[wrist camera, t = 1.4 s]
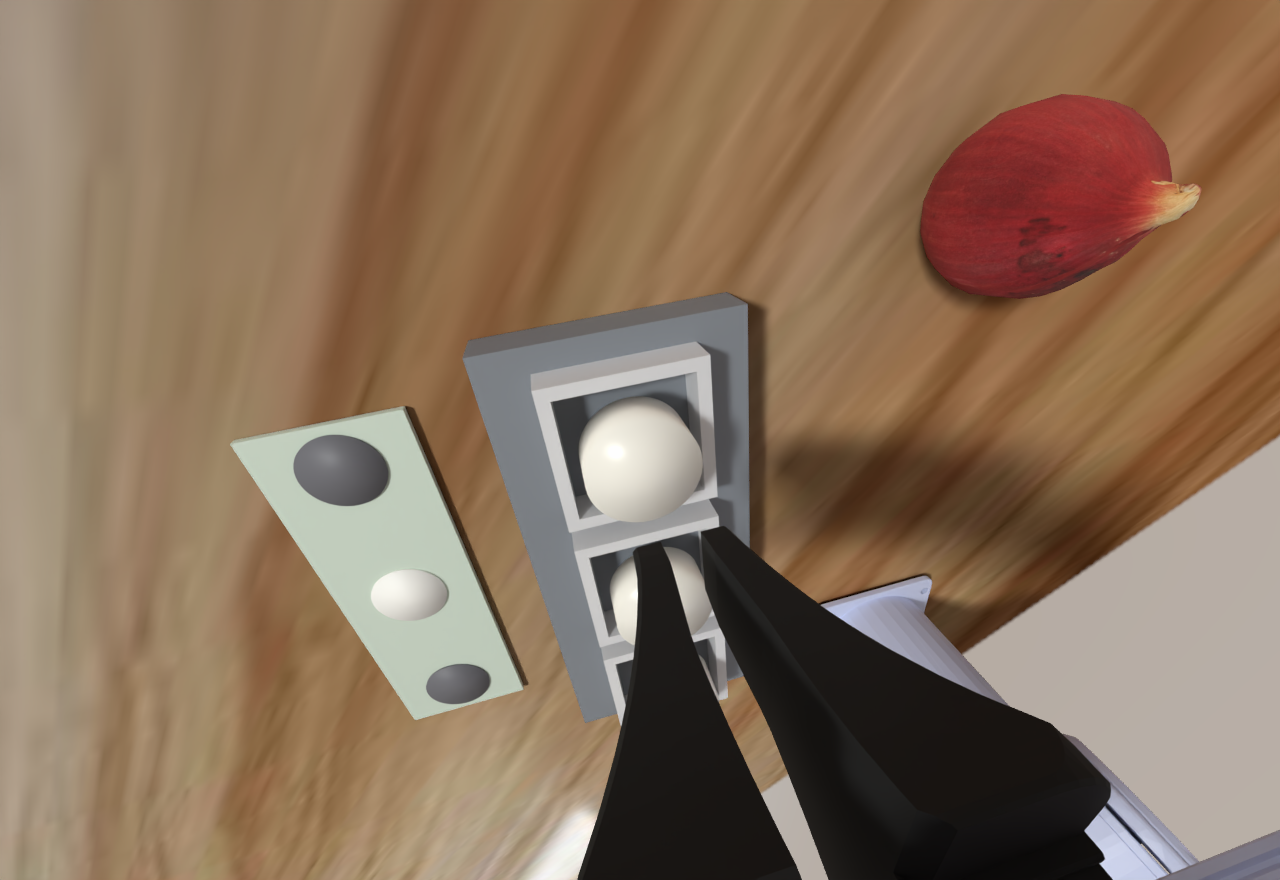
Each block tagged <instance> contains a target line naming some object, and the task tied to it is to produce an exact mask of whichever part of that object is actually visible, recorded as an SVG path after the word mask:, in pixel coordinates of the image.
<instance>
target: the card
mask: <svg viewBox="0 0 1280 880" xmlns="http://www.w3.org/2000/svg"><path fill="white" fill-rule="evenodd" d="M230 445H231V446H232V448H233V449H234V451H235V452H236V454H237V455H238V457H239V458H240V460H241V461H242V463H243V464H244V466H245V467H246V469H247V470H248V472H249V473H250V475H251V476H252V478H253V479H254V481H255V482H256V484H257V485H258V487H259V488H260V490H261V491H262V493H263V494H264V496H265V497H266V499H267V500H268V502H269V503H270V504H271V506H272V507H273V509H274V510H275V512H276V513H277V515H278V516H279V518H280V519H281V521H282V522H283V524H284V525H285V527H286V528H287V530H288V531H289V533H290V534H291V536H292V537H293V539H294V540H295V542H296V543H297V545H298V546H299V548H300V549H301V551H302V552H303V554H304V555H305V557H306V558H307V560H308V561H309V563H310V564H311V566H312V567H313V569H314V570H315V572H316V573H317V575H318V576H319V578H320V579H321V581H322V582H323V584H324V585H325V587H326V588H327V590H328V591H329V592H330V594H331V595H332V597H333V598H334V600H335V601H336V603H337V604H338V606H339V607H340V609H341V610H342V612H343V613H344V615H345V616H346V618H347V619H348V621H349V622H350V624H351V625H352V627H353V628H354V630H355V631H356V633H357V634H358V636H359V637H360V639H361V640H362V642H363V643H364V645H365V646H366V648H367V649H368V651H369V652H370V654H371V655H372V657H373V658H374V660H375V661H376V663H377V664H378V666H379V667H380V669H381V670H382V672H383V673H384V675H385V676H386V678H387V679H388V681H389V682H390V683H391V685H392V686H393V688H394V689H395V691H396V692H397V694H398V695H399V697H400V698H401V700H402V701H403V703H404V704H405V706H406V707H407V709H408V710H409V712H410V713H411V715H412V716H413V718H414V719H415V720H417V719H421V718H424V717H428V716H432V715H435V714H439V713H442V712H446V711H449V710H453V709H456V708H460V707H463V706H467V705H471V704H474V703H478V702H481V701H485V700H488V699H492V698H495V697H499V696H502V695H506V694H509V693H513V692H517V691H520V690H524V688H523V682H522V680H521V678H520V675H519V673H518V671H517V668H516V666H515V664H514V661H513V659H512V657H511V654H510V652H509V650H508V647H507V645H506V643H505V640H504V638H503V635H502V633H501V631H500V628H499V626H498V624H497V621H496V619H495V617H494V614H493V612H492V610H491V607H490V605H489V603H488V600H487V598H486V596H485V593H484V591H483V589H482V586H481V584H480V582H479V579H478V577H477V575H476V572H475V570H474V568H473V565H472V563H471V560H470V558H469V556H468V553H467V551H466V549H465V546H464V544H463V542H462V539H461V537H460V535H459V532H458V530H457V528H456V525H455V523H454V521H453V518H452V516H451V514H450V511H449V509H448V507H447V504H446V502H445V500H444V497H443V495H442V493H441V490H440V488H439V486H438V483H437V481H436V478H435V476H434V474H433V471H432V469H431V467H430V464H429V462H428V460H427V457H426V455H425V453H424V450H423V448H422V446H421V443H420V441H419V439H418V436H417V434H416V432H415V429H414V427H413V425H412V422H411V420H410V418H409V415H408V413H407V411H406V408H405V406H402V407H397V408H392V409H387V410H382V411H377V412H372V413H367V414H362V415H357V416H352V417H348V418H343V419H338V420H333V421H328V422H323V423H318V424H313V425H308V426H303V427H298V428H293V429H288V430H283V431H278V432H273V433H268V434H263V435H258V436H253V437H248V438H243V439H238V440H234V441H233V442H232V443H231V444H230Z"/></svg>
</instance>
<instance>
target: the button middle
mask: <svg viewBox="0 0 1280 880" xmlns="http://www.w3.org/2000/svg"><path fill="white" fill-rule="evenodd" d="M663 548H664V550H665V552H666V554H667V556H668V558H669V560H670V562H671V566H672V569H673V573H674V576H675V580H676V583H677V587H678V590H679V594H680V597H681V601H682V604H683V608H684V612H685V615H686V619H687V622H688V626H689V629H690V633H691V636H692V635H693V634H695V633H696V632H697V631H698V630H699V629H700V628H701V627H702V626H703V625H704V624H705V622H706V621H707V619H708V618H709V616H710V613H711V610H712V606H711V604H710V601H709V598H708V595H707V593H706V590H705V582H704V579H703V577H702V575H701V573H700V570H699V568H698V566H697V564H696V562H695V560H694V559H693V558H692V556H691V555H689V554H688V553H687V552H685V551H683V550H680V549H678V548H673V547H663ZM610 595H611V600H612V605H613V609H614V614H615V619H616V623H617V628H618V631H619V633H620V635H621V636H622V637H623V639H625V640H626V641H627V642H629V643H630V644H632V645H635V637H636V627H637V602H638V588H637V574H636V569H635V563H634V558H633V556H631V557H630V558H628V559H627V560H625V561H624V562H623V563H622V564H621V565H620V566H619V567H618V568H617V570H616V571H615V573H614V575H613V576H612V579H611V582H610Z"/></svg>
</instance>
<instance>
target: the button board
mask: <svg viewBox="0 0 1280 880" xmlns="http://www.w3.org/2000/svg"><path fill="white" fill-rule="evenodd" d="M463 361H464V364H465V367H466V370H467V373H468V376H469V379H470V382H471V385H472V388H473V391H474V394H475V397H476V400H477V403H478V406H479V409H480V412H481V415H482V418H483V421H484V424H485V427H486V429H487V432H488V435H489V438H490V441H491V444H492V447H493V450H494V453H495V456H496V459H497V462H498V465H499V468H500V471H501V474H502V477H503V480H504V483H505V486H506V489H507V492H508V495H509V498H510V501H511V504H512V507H513V510H514V513H515V516H516V519H517V522H518V525H519V528H520V531H521V533H522V536H523V539H524V542H525V545H526V548H527V551H528V554H529V557H530V560H531V563H532V566H533V569H534V572H535V575H536V578H537V581H538V584H539V587H540V590H541V593H542V596H543V599H544V602H545V605H546V608H547V611H548V614H549V617H550V620H551V623H552V626H553V629H554V632H555V635H556V637H557V640H558V643H559V646H560V649H561V652H562V655H563V658H564V661H565V664H566V667H567V670H568V673H569V676H570V679H571V682H572V685H573V688H574V691H575V694H576V697H577V700H578V703H579V706H580V709H581V712H582V715H583V718H584V721H585V723H587V722H590V721H594V720H597V719H600V718H604V717H607V716H610V715H614V714H617V713H618V717H619V721H620V725H622V721H623V716H624V711H625V706H626V701H627V696H628V690H629V684H630V678H631V671H632V664H633V657H634V647H635V645H632V644H630V643H629V642H627V641H626V640H625V639H623V637H622V636H621V635H620V633H619V631H618V628H617V623H616V619H615V614H614V609H613V605H612V600H611V595H610V582H611V579H612V576H613V575H614V573H615V571H616V570H617V568H618V567H619V566H620V565H621V564H622V563H623V562H624V561H625V560H627V559H628V558H630V557H631V556H633V551H634V550H635V549H636V548H637V547H641V546H645V545H649V544H653V543H657V542H661V544H662V546H663V547H673V548H678V549H680V550H683V551H685V552H687V553H688V554H689V555H691V556H692V558H693V559H694V560H695V562H696V564H697V566H698V568H699V570H700V573H701V575H702V577H703V579H704V569H703V557H702V544H701V531H704V530H708V529H712V528H716V527H720V526H725V527H727V528H728V529H729V530H730V531H731V532H732V533H734V534H735V535H736V536H737V537H738V538H739V539H740V540H741V541H742V542H743V543H744V544H745V545H746V546H748V547H749V548H750V528H749V400H748V304H747V303H745V302H743V301H742V300H740V299H738V298H736V297H734V296H733V295H731V294H729V293H727V292H726V293H720V294H715V295H709V296H704V297H699V298H693V299H688V300H683V301H677V302H672V303H667V304H661V305H656V306H651V307H645V308H640V309H634V310H629V311H624V312H618V313H613V314H608V315H602V316H597V317H592V318H586V319H581V320H576V321H570V322H565V323H559V324H554V325H549V326H543V327H538V328H533V329H527V330H522V331H517V332H511V333H506V334H500V335H495V336H490V337H484V338H479V339H474V340H468V343H467V346H466V349H465V352H464V356H463ZM635 396H643V397H650V398H654V399H657V400H660V401H662V402H664V403H666V404H668V405H669V406H670V407H672V408H673V409H674V410H675V411H676V412H677V413H678V415H679V416H680V417H681V419H682V420H683V422H684V423H685V425H686V426H687V428H688V429H689V431H690V432H691V434H692V435H693V437H694V438H695V440H696V441H697V443H698V445H699V447H700V450H701V453H702V459H703V468H702V474H701V477H700V480H699V483H698V485H697V487H696V489H695V490H694V492H693V493H692V495H691V496H690V497H689V498H688V499H687V500H686V501H685V503H683V504H682V505H681V506H680V507H679V508H677V509H676V510H674V511H673V512H671V513H669V514H667V515H665V516H663V517H661V518H658V519H655V520H651V521H646V522H625V521H620V520H616V519H614V518H611V517H609V516H607V515H605V514H604V513H602V512H601V511H600V510H598V509H597V508H596V507H595V506H594V504H593V503H592V502H591V500H590V498H589V496H588V494H587V491H586V488H585V484H584V479H583V474H582V469H581V464H580V460H579V441H580V437H581V434H582V432H583V430H584V428H585V426H586V424H587V423H588V421H589V420H590V419H591V418H592V417H593V415H595V414H596V413H597V412H598V411H599V410H600V409H602V408H603V407H605V406H606V405H608V404H610V403H612V402H614V401H617V400H619V399H623V398H627V397H635ZM692 639H693V642H694V645H695V648H696V650H697V653H698V655H700V656H701V657H702V658H703V659H704V660H705V663H706V665H707V668H708V670H709V673H710V676H711V678H712V681H713V683H714V686H715V689H716V691H717V694H718V697H719V700H722V699H725V698H728V691H727V681H729V680H732V679H735V678H739V677H742V676H744V675H743V673H742V671H741V669H740V667H739V665H738V663H737V661H736V659H735V657H734V655H733V653H732V651H731V649H730V647H729V645H728V643H727V641H726V639H725V637H724V635H723V633H722V631H721V629H720V627H719V625H718V622H717V620H716V617H715V614H714V612H713V609H712V610H711V613H710V616H709V618H708V619H707V621H706V622H705V624H704V625H703V626H702V627H701V628H700V629H699V630H698V631H697V632H696V633H695V634H693V635H692Z"/></svg>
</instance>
